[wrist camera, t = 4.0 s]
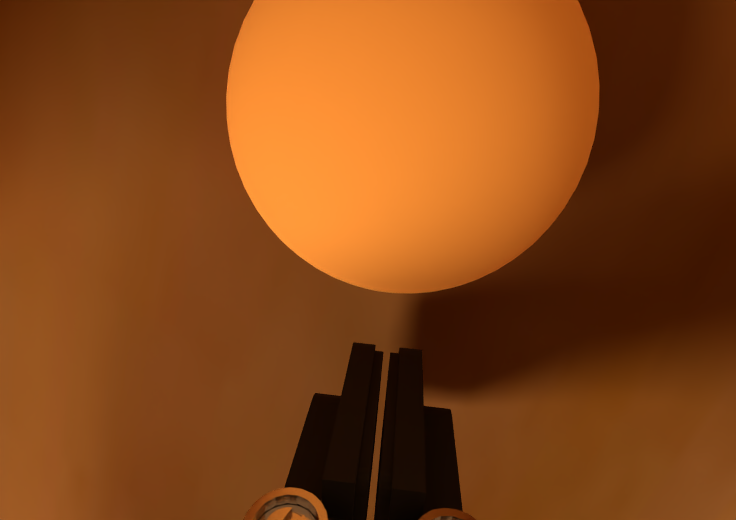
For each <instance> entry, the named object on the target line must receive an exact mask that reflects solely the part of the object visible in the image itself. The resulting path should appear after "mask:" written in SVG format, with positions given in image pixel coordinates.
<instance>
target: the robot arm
mask: <svg viewBox="0 0 736 520" xmlns="http://www.w3.org/2000/svg"><path fill="white" fill-rule="evenodd" d="M382 361H383V352H381V351H375V345H372V344H363V343H353V346H352V351H351V355H350V359H349V364H348V368H347V373H346V377H345V381H344V386H343V390H342V395H341V396H335V395H327V394H319V393H315V394H314V396H313V399H312V402H311V405H310V408H309V411H308V414H307V418H306V421H305V424H304V427H303V430H302V433H301V437H300V440H299V443H298V446H297V449H296V453H295V456H294V459H293V462H292V465H291V468H290V472H289V475H288V478H287V481H286V484H285V488H281V489H276V490H274V491H271V492H269V493H267V494H265V495H263V496H262V497H261V498H260V499H258V500H257V501H256V502H255V503H254V504H253V505H252V506H251V508H250V509H249V510H248V512H247V513H246V515H245V517H244V519H243V520H366V518H367V509H368V500H369V490H370V481H371V472H372V462H373V453H374V443H375V433H376V423H377V413H378V402H379V392H380V381H381V371H382ZM374 520H476V519H475V518H473V517H472V516H471V515H469V514H467V513H464V512H463V511H462V502H461V493H460V484H459V475H458V466H457V457H456V448H455V439H454V430H453V421H452V414H451V410H450V409H444V408H436V407H428V406H424V405H423V370H422V350H417V349H408V348H399V353H390V361H389V371H388V380H387V390H386V400H385V409H384V419H383V428H382V438H381V448H380V459H379V471H378V482H377V493H376V504H375V515H374Z"/></svg>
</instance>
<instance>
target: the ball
mask: <svg viewBox="0 0 736 520" xmlns="http://www.w3.org/2000/svg"><path fill="white" fill-rule="evenodd" d="M599 88H600V85H599V75H598V65H597V57H596V53H595V49H594V45H593V40H592V36H591V32H590V29H589V26H588V24H587V21H586V19H585V16H584V14H583V11H582V9H581V6H580V4H579V2H578V0H254V2H253V4H252V5H251V7H250V9H249V11H248V13H247V15H246V17H245V19H244V21H243V24H242V26H241V29H240V32H239V35H238V37H237V40H236V43H235V46H234V50H233V55H232V59H231V63H230V68H229V74H228V84H227V94H226V103H227V125H228V132H229V138H230V145H231V149H232V152H233V156H234V160H235V164H236V167H237V170H238V172H239V175H240V177H241V180H242V182H243V185H244V187H245V189H246V191H247V193H248V195H249V197H250V198H251V200H252V202H253V204H254V206H255V208H256V209H257V211H258V212H259V213H260V215H261V216H262V218H263V219H264V220H265V222H266V223H267V225H268V226H269V227H270V228H271V229H272V230H273V232H274V233H275V234H276V235H277V236H278V237H279V238H280V239H281V241H282V242H283V243H285V244H286V245H287V246H288V247H289V248H290V249H291V250H293V251H294V252H295V253H296V254H297V255H298V256H299V257H301V258H302V259H304V260H305V261H307V262H308V263H310V264H311V265H312V266H314V267H315V268H317V269H319V270H321V271H323V272H324V273H326V274H328V275H330V276H332V277H334V278H336V279H339V280H341V281H344V282H346V283H349V284H352V285H355V286H358V287H362V288H366V289H370V290H374V291H382V292H389V293H412V294H414V293H425V292H435V291H439V290H444V289H449V288H453V287H457V286H460V285H463V284H466V283H469V282H472V281H475V280H477V279H479V278H482V277H484V276H486V275H488V274H490V273H492V272H494V271H496V270H498V269H499V268H501V267H503V266H504V265H506V264H507V263H509V262H510V261H512V260H514V259H515V258H517V257H518V256H519V255H520V254H521V253H523V252H524V251H525V250H526V249H528V248H529V247H530V246H531V245H533V244H534V243H535V242H536V241H537V240H538V239H539V238H540V237H541V236H542V234H543V233H544V232H545V231H546V230H547V229H548V228H549V227H550V226H551V225H552V223H553V222H554V221H555V220H556V218H557V217H558V216H559V214H560V213H561V212H562V210H563V209H564V208H565V206H566V204H567V203H568V201H569V199H570V198H571V196H572V194H573V193H574V191H575V189H576V187H577V186H578V183H579V181H580V179H581V176H582V174H583V172H584V169H585V167H586V165H587V162H588V159H589V155H590V152H591V149H592V145H593V142H594V139H595V132H596V126H597V120H598V114H599Z"/></svg>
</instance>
